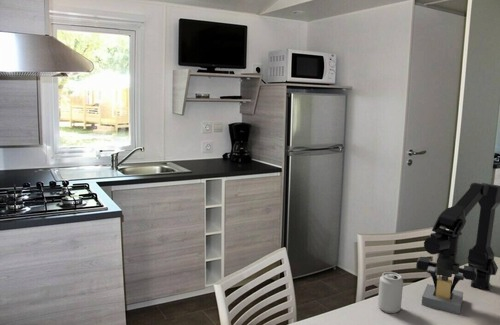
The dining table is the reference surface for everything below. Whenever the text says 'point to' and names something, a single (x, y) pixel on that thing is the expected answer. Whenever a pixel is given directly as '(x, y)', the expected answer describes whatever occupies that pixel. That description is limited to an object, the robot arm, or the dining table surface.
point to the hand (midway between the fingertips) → (443, 291)
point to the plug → (443, 287)
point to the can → (390, 292)
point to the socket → (442, 300)
